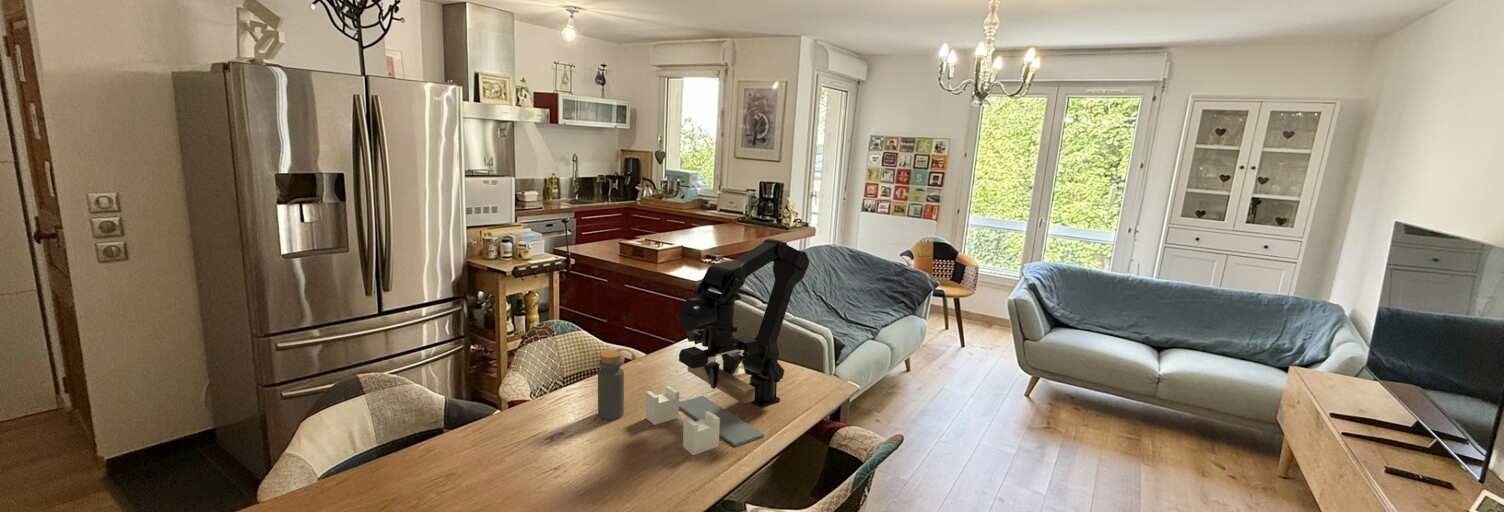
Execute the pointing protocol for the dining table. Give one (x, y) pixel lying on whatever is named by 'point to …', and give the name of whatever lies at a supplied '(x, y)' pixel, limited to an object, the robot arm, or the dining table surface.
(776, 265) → the robot arm
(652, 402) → the post
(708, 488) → the dining table surface
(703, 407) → the mat
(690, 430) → the post
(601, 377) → the bottle
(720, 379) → the rail
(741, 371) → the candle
